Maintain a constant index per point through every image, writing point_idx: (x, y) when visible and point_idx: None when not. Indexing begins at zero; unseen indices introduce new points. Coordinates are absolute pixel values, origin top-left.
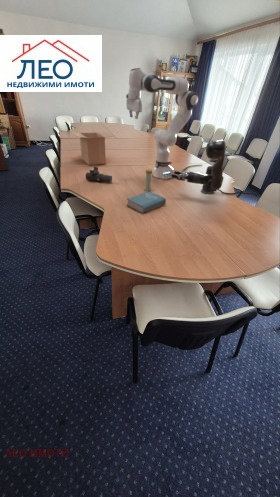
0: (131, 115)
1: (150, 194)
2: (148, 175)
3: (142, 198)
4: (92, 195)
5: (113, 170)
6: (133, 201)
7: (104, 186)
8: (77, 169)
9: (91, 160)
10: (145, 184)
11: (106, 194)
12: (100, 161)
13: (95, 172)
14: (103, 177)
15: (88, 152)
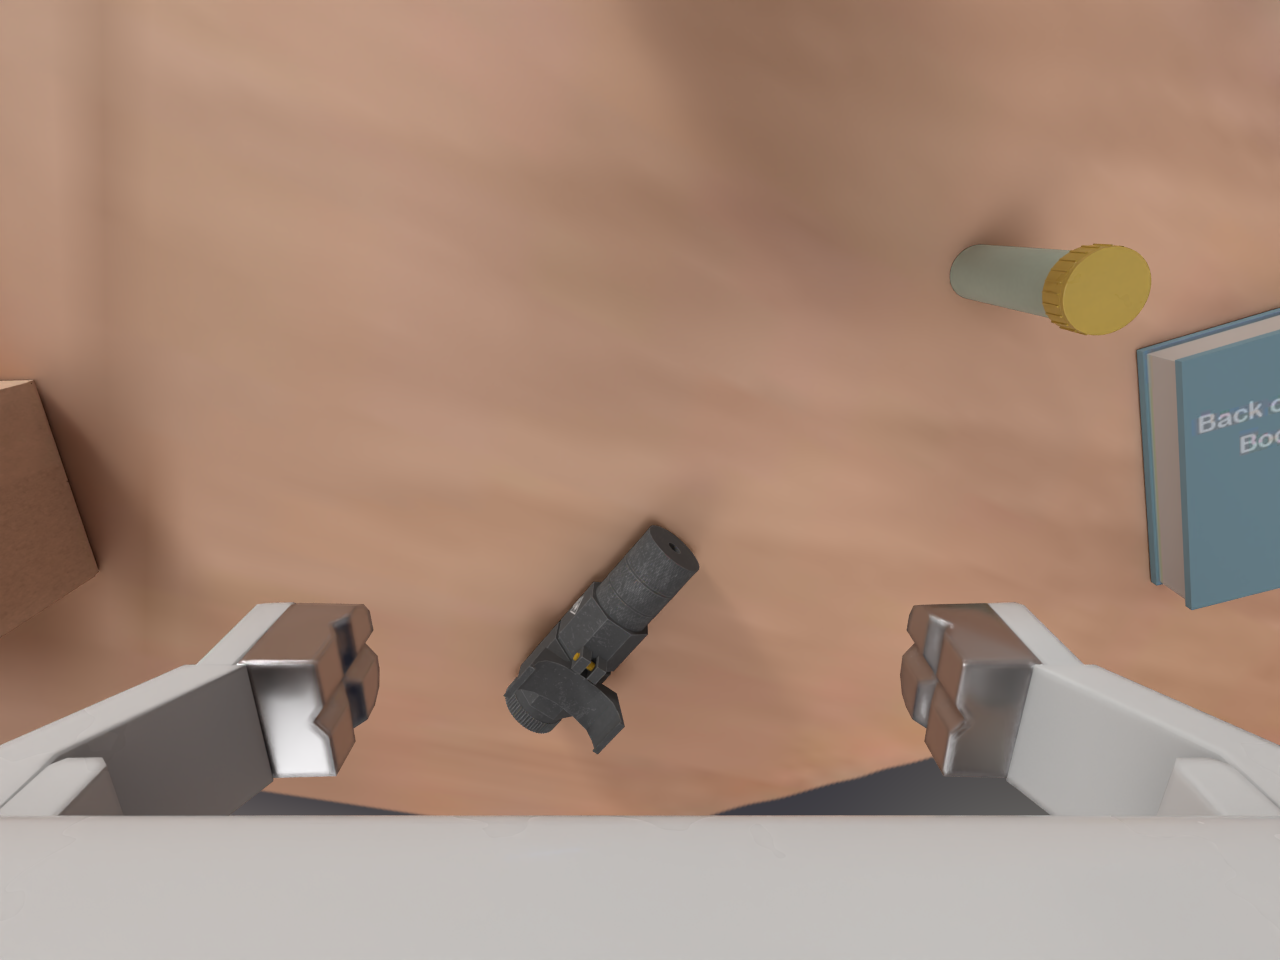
0: (338, 702)
1: (1244, 394)
2: None
3: (1264, 500)
4: (865, 731)
5: (301, 377)
6: (1262, 588)
7: (731, 608)
8: None
9: (52, 565)
10: (992, 304)
11: (893, 643)
12: (31, 454)
13: (580, 681)
14: (653, 617)
15: None
